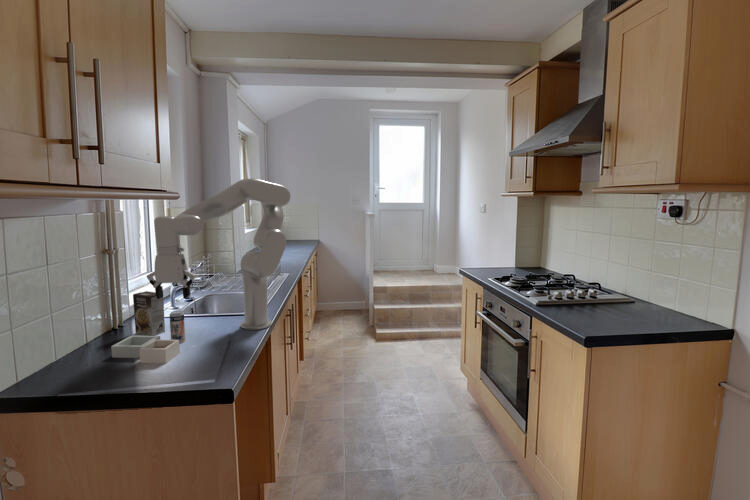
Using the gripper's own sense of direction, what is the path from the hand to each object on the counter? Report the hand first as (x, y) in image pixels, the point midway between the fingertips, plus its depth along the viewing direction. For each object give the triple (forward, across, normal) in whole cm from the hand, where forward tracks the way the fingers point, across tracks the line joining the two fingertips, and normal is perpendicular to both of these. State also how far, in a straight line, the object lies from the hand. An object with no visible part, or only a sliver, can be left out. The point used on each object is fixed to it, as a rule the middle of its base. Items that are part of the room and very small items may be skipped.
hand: (173, 297), depth 141 cm
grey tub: (+17, +9, +10) cm, 22 cm away
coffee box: (+18, +17, -11) cm, 27 cm away
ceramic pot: (+17, -2, +15) cm, 23 cm away
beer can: (+18, 0, 0) cm, 18 cm away
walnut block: (+16, -2, +15) cm, 22 cm away
